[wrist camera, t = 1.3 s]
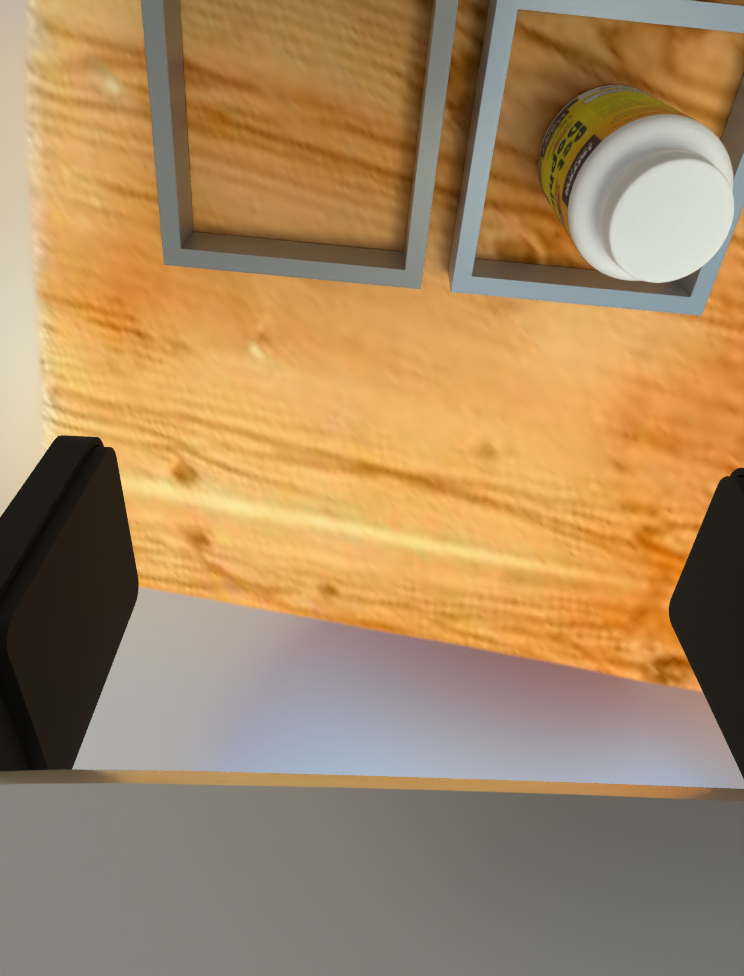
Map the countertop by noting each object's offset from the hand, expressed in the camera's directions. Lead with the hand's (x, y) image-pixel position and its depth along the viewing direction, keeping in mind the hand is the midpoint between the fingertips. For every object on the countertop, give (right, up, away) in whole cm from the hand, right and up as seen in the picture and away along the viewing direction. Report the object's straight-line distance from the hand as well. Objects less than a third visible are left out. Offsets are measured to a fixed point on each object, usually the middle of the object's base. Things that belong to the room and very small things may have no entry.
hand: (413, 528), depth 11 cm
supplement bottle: (+9, +15, +20) cm, 27 cm away
